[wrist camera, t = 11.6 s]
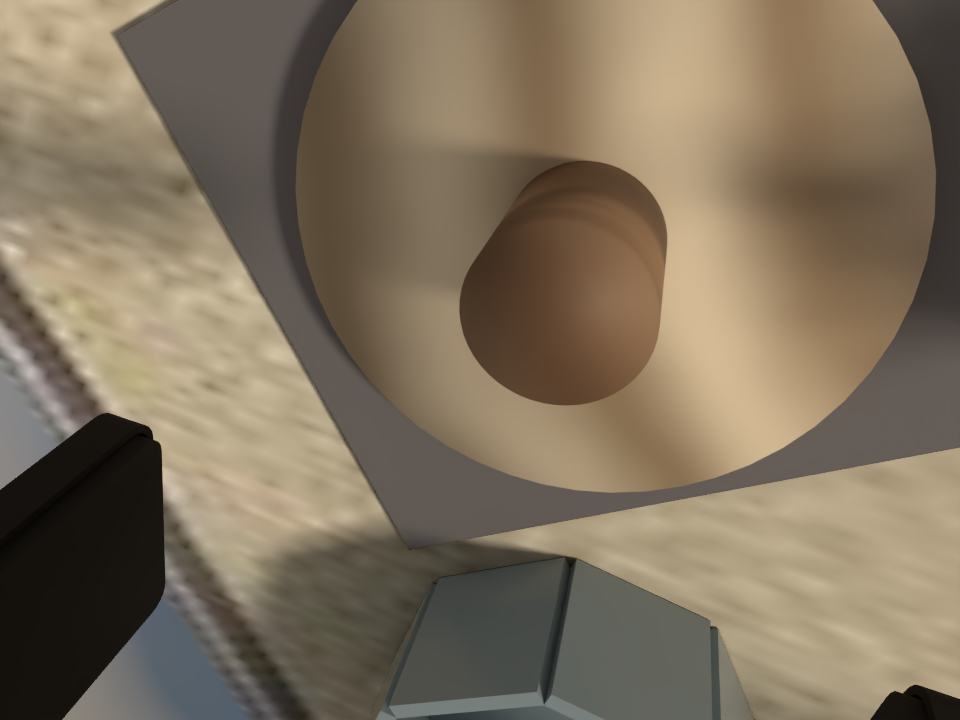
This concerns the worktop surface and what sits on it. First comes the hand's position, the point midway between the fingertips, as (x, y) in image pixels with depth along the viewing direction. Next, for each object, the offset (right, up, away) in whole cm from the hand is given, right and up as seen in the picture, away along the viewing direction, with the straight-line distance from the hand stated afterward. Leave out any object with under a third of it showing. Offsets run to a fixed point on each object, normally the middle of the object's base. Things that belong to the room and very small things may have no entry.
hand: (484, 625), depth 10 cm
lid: (+3, +7, +12) cm, 15 cm away
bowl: (+4, -11, +23) cm, 25 cm away
